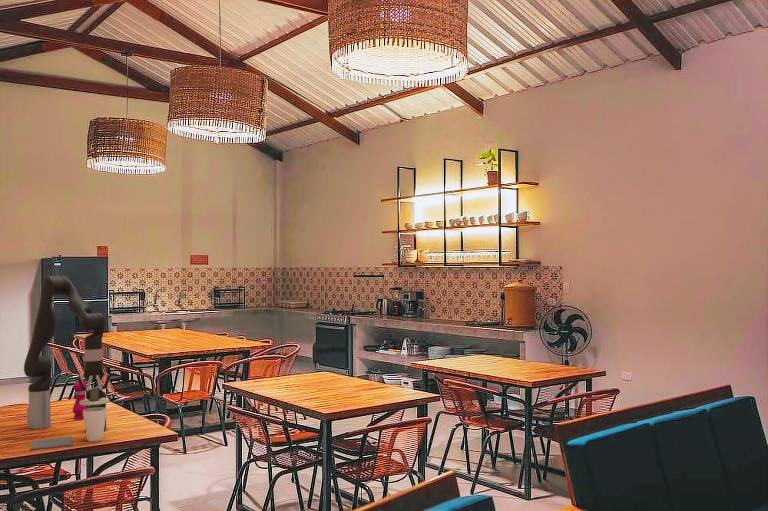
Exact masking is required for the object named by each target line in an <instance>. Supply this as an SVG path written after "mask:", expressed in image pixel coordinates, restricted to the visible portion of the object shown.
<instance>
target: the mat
mask: <svg viewBox="0 0 768 511" xmlns="http://www.w3.org/2000/svg"><path fill="white" fill-rule="evenodd" d="M30 443H31V444H30V448H29V449H30V450H29V451H36V450H38V451H39V450H43V449H44V450H46V449H55V448H64V447H73V444H74V443H73V436H64V437H54V438H45V439H35V440H31V442H30Z"/></svg>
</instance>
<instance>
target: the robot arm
mask: <svg viewBox="0 0 768 511" xmlns="http://www.w3.org/2000/svg"><path fill="white" fill-rule="evenodd" d="M55 296H57V297H58V296H59V297H61V296H65V297H67V298H68V302H67V305H68V309H69V311H71V313H72V314H73V315H74V316H75V317H76V318H77V321H78V323H79V326H80V328H81V329H83V330H86V331H93V332H92V333H91V334H89V335H86V336H85V337H84V356H83V359H84V361H83V362H84V364H83V365H84V373H83V374H82V375H80V376H77V377H76V379H77V382H79V384H80V387H81V389H82V390H85V391H86V392H85V399H86V398H88V400H90V391H89V389H91V388H90V387H91V384H97V385H98V388H99V399H101V397H102V396H103V390H104V389H107V388H108V385H109V383H110V379H111V374H109V373H105V372H104V354H103V336H104V331H105V328H106V324H107V319H106V317H105V315H104V314H103V313H101V312H93V308H92V307H91V306H90V305H89V304H88V303H87V302H86V300H84V299H83V298H82V297H81V295H80V294H79V292H78V290H77V288H76V287H75V286H74V284H73V282H72V281H71V279H70V278H69V277H68V276H67V275H62V274H61V275H58V274H57V275H48V276H45V277H44V279H43V281H42V285H41V292H40V300H39V306H38V311H37V315H36V319H35V322H34V323H35V324H34V328H33V332H32V333H33V334H32V337H31V342H30V345H29V348H28V351H27V355H26V358H25V360H24V364H23V365H24V366H23V372H24V375H25V376H26V377H28V378H34V377H38V379H37V380H35V381H33V382H32V383H30V384H29V385H28V388H27V389H28V407H27V408H26V418H27V419H26V423H27V424H26V427H27V428H26V429H29V430H42V429H46V428H50V427H51V426H52V420H51V419H52V418H51V417H52V416H51V412H52V411H51V410H52V409H51V384H52V369H53V368H52V361H51V360H52V359H51V358H50V357H49V356H48V355H40V354H41V352H42V351H43V350H44V349H45V347H47V345H48V344H49V343H50V342H51V341H52V339H53V338H54V337H55V334H56V331H57V327H58V317H57V316H56V313H55V312H54V310H53V307H52V300H53V298H54V297H55ZM103 378H104V380H105V381H104V384H103V385H102V382H101V381H102V379H103ZM84 379H85V380H86V381H87V382H86V385H87V387H84V385H83V383H82V381H84Z"/></svg>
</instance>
